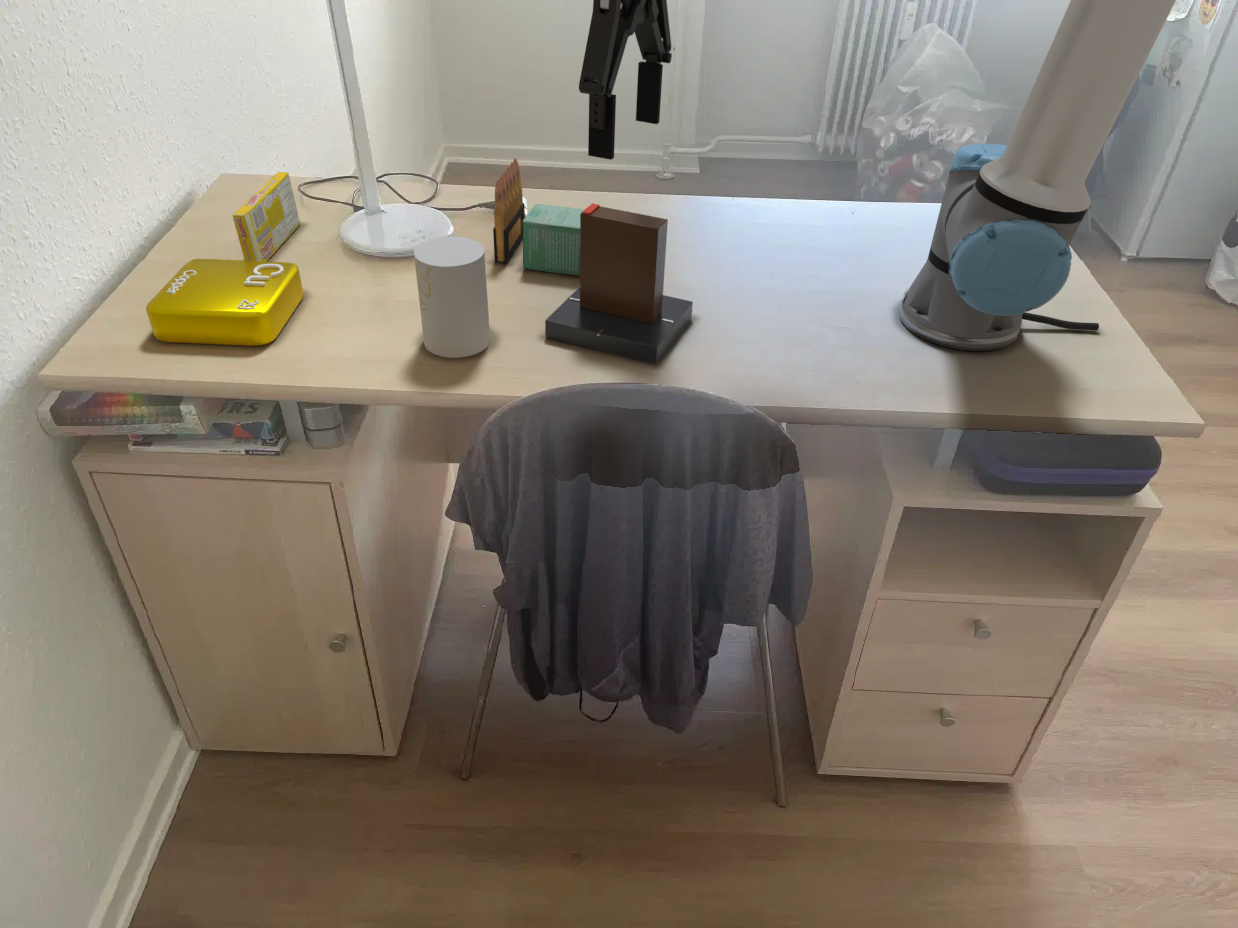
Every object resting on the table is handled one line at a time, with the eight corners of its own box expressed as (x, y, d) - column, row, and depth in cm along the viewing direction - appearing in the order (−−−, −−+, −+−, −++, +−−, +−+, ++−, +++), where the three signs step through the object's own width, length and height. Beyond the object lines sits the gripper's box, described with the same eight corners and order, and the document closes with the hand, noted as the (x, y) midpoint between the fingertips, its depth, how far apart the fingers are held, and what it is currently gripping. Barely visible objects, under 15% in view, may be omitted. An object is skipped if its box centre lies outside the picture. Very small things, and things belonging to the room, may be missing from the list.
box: (615, 281, 129) (617, 230, 124) (522, 271, 131) (520, 221, 126) (625, 260, 135) (626, 210, 130) (535, 250, 137) (534, 201, 132)
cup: (431, 323, 118) (421, 235, 111) (494, 326, 118) (489, 238, 111) (418, 356, 112) (407, 265, 104) (484, 359, 111) (478, 268, 104)
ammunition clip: (506, 264, 132) (502, 182, 125) (494, 263, 133) (489, 181, 125) (525, 234, 141) (523, 156, 133) (514, 233, 141) (510, 155, 134)
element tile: (198, 286, 124) (189, 253, 121) (308, 291, 124) (302, 258, 121) (148, 342, 112) (137, 307, 109) (271, 348, 112) (262, 313, 109)
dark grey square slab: (693, 316, 122) (694, 298, 120) (654, 367, 111) (655, 348, 110) (589, 293, 126) (590, 275, 124) (543, 340, 116) (542, 321, 114)
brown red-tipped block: (661, 313, 117) (668, 217, 109) (652, 324, 114) (658, 227, 107) (590, 296, 120) (591, 202, 112) (579, 307, 117) (580, 211, 110)
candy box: (287, 224, 141) (277, 171, 136) (301, 225, 141) (291, 171, 136) (244, 270, 128) (231, 213, 123) (259, 271, 128) (246, 214, 123)
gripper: (645, -94, 101) (636, 104, 114) (543, -66, 83) (546, 167, 96) (709, -88, 99) (693, 113, 112) (619, -58, 81) (612, 179, 94)
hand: (625, 138), depth 104 cm, fingers open, 13 cm apart
